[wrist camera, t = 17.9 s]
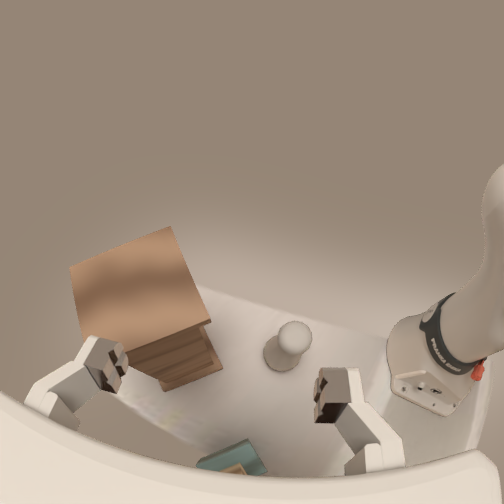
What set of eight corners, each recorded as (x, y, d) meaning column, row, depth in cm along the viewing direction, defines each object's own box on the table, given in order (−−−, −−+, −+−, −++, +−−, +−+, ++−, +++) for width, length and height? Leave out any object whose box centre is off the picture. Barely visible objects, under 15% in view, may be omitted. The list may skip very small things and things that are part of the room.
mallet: (279, 492, 20) (255, 455, 23) (206, 521, 18) (181, 484, 20) (263, 463, 35) (247, 438, 37) (216, 484, 33) (200, 458, 35)
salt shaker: (270, 333, 46) (283, 305, 35) (302, 346, 45) (326, 322, 34) (256, 364, 43) (265, 348, 32) (289, 378, 42) (310, 366, 31)
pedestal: (222, 368, 43) (210, 318, 20) (165, 391, 40) (90, 365, 18) (199, 319, 47) (170, 225, 24) (145, 341, 44) (69, 267, 22)
